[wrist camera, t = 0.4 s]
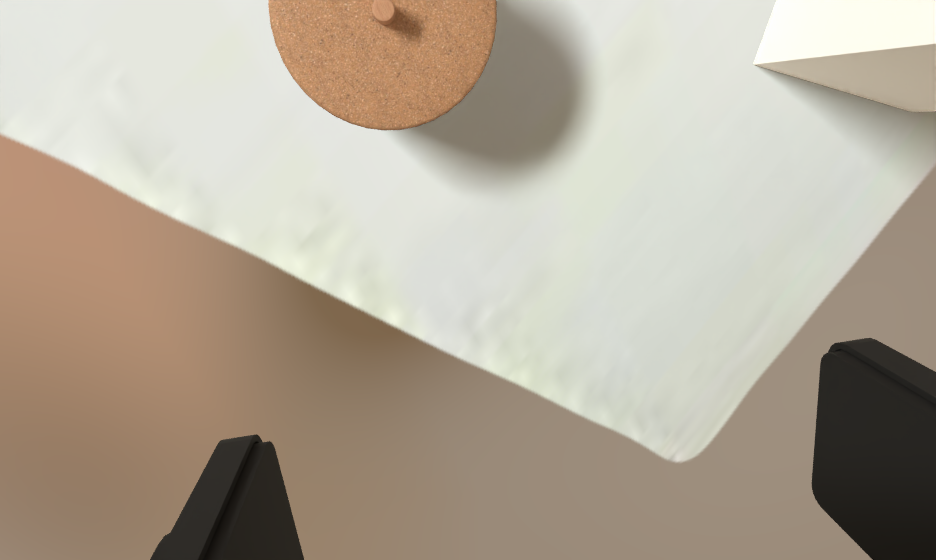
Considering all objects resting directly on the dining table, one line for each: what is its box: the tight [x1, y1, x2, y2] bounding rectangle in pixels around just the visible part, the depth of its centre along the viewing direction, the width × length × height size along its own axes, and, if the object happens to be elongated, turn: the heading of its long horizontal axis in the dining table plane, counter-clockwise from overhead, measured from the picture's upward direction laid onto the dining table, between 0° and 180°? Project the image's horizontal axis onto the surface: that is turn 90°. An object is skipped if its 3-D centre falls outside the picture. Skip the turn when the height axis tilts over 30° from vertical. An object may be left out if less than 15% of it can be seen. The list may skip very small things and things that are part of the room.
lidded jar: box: [269, 0, 497, 130], centre depth 31 cm, size 11×11×9 cm
